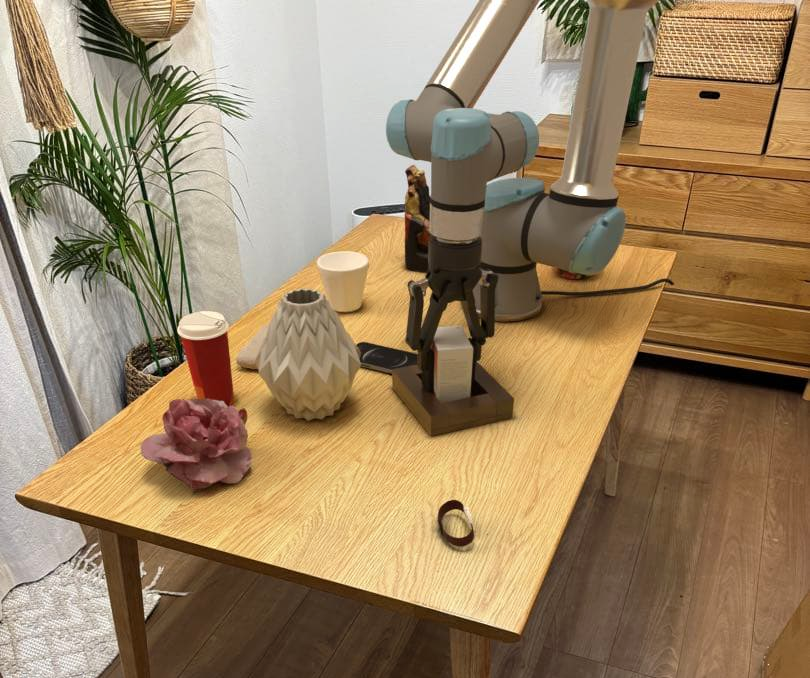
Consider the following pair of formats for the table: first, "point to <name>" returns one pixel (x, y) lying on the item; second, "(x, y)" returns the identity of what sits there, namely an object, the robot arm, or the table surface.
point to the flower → (201, 442)
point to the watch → (459, 506)
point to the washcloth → (252, 349)
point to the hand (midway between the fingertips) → (448, 383)
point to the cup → (343, 279)
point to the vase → (308, 356)
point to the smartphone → (384, 357)
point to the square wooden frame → (453, 402)
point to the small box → (452, 364)
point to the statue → (417, 220)
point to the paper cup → (208, 355)
